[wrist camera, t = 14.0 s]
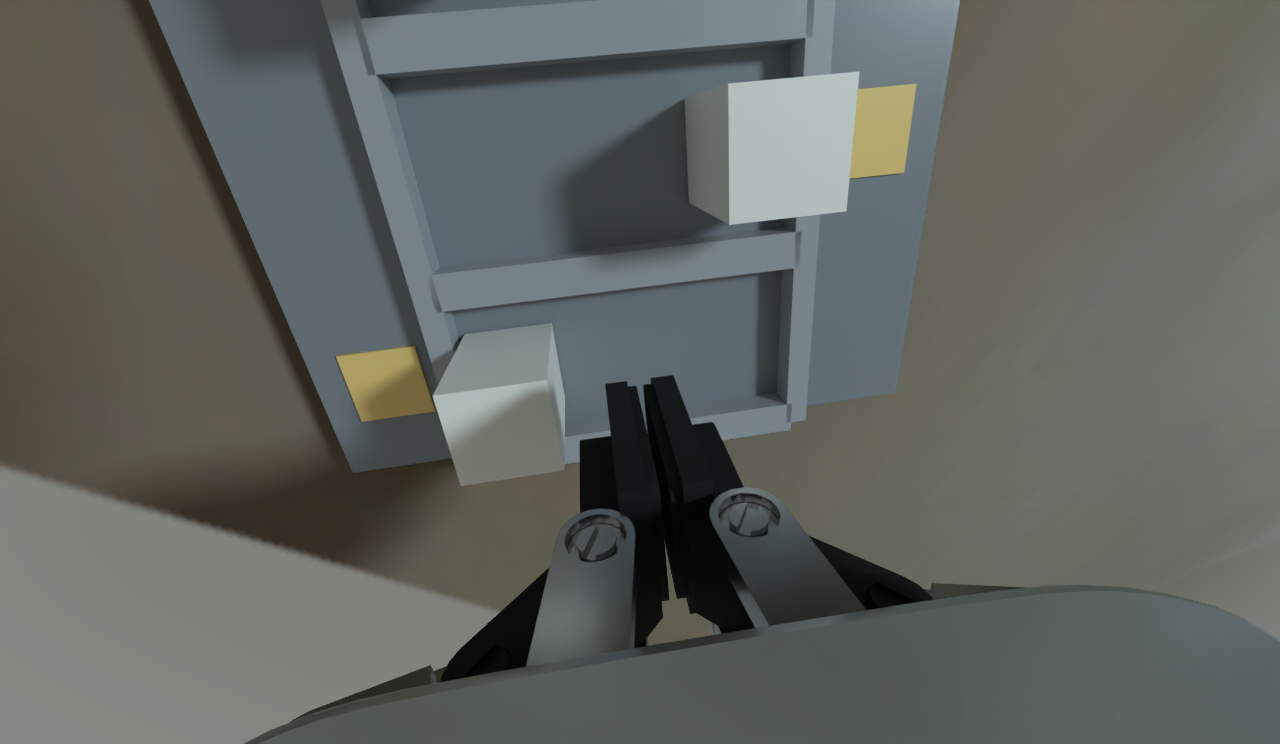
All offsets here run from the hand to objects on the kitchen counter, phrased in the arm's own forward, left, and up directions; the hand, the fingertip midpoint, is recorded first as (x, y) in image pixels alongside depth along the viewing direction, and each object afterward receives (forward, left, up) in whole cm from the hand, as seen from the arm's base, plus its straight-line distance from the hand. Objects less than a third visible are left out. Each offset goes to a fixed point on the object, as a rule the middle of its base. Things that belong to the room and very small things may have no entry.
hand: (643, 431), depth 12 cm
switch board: (0, -6, -8) cm, 10 cm away
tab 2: (-4, -6, -6) cm, 10 cm away
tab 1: (+4, +1, -6) cm, 7 cm away
